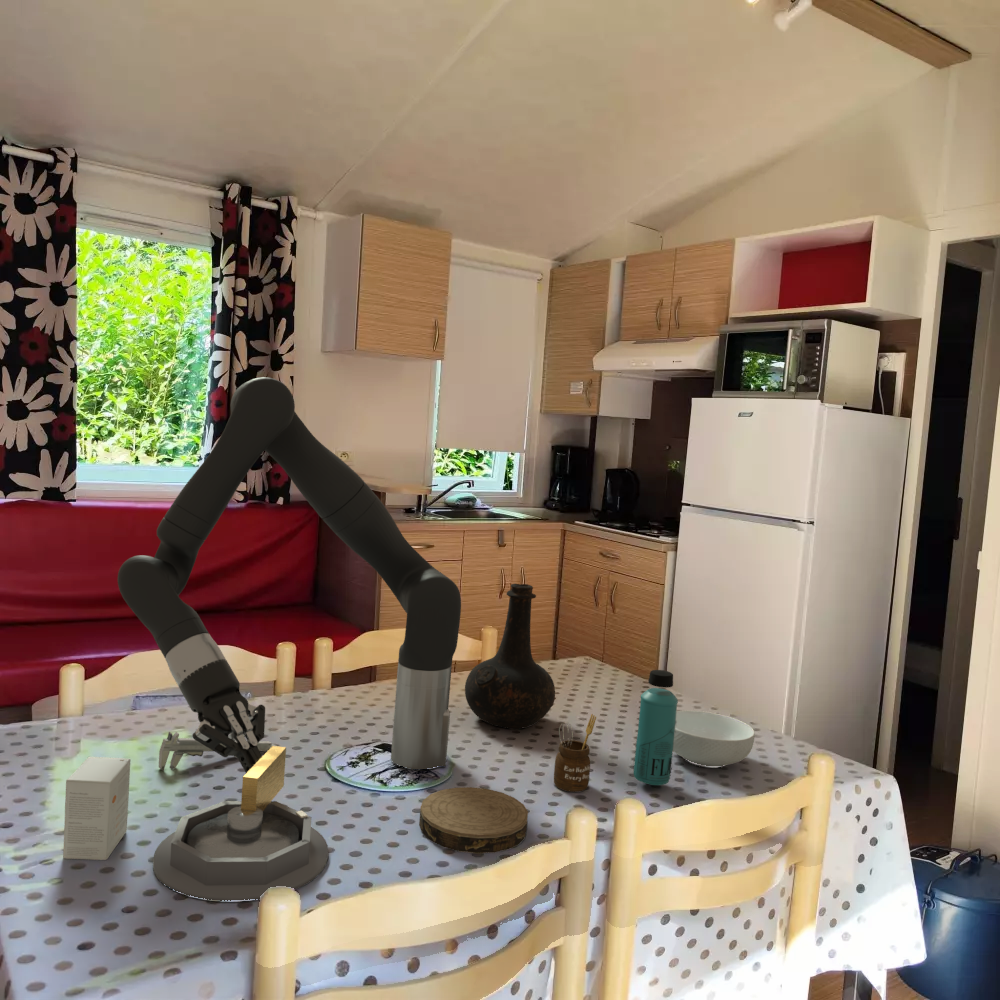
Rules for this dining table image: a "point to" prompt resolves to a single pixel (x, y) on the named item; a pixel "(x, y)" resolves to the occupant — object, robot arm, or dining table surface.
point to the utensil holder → (573, 762)
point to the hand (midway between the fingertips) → (260, 774)
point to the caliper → (189, 749)
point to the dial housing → (239, 860)
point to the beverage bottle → (656, 731)
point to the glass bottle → (512, 673)
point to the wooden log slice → (473, 820)
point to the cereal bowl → (711, 738)
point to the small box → (96, 808)
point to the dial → (250, 817)
